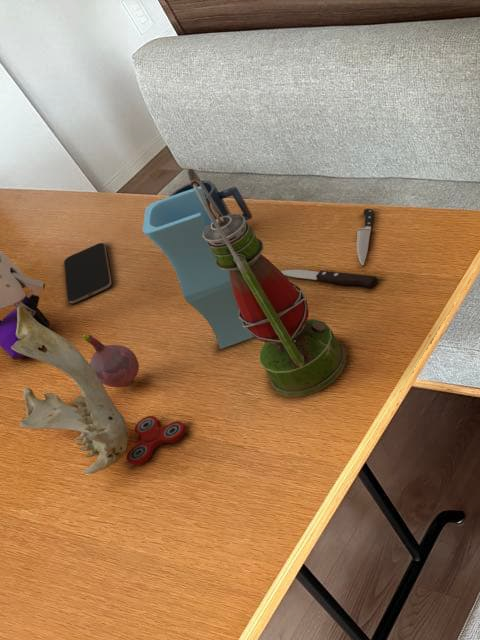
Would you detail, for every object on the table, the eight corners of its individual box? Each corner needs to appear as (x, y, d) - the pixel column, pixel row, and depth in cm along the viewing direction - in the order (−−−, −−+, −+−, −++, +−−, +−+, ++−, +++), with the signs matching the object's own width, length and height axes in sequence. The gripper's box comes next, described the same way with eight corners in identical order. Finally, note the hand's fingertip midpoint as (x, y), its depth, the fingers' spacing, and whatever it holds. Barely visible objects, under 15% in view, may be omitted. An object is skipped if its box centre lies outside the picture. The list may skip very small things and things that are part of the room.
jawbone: (146, 392, 96) (51, 405, 89) (144, 508, 104) (58, 528, 98) (83, 298, 110) (-3, 303, 103) (86, 407, 119) (8, 418, 112)
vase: (272, 330, 115) (201, 215, 101) (220, 349, 115) (141, 236, 100) (270, 298, 120) (202, 185, 106) (220, 316, 120) (145, 204, 106)
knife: (352, 266, 120) (365, 267, 121) (352, 262, 120) (366, 264, 120) (361, 211, 130) (373, 212, 131) (361, 207, 130) (373, 208, 130)
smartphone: (67, 302, 131) (63, 258, 141) (70, 305, 131) (66, 261, 141) (110, 283, 132) (103, 241, 142) (112, 286, 132) (105, 244, 142)
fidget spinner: (122, 463, 101) (128, 469, 102) (176, 449, 101) (182, 455, 101) (135, 417, 106) (141, 423, 107) (187, 403, 106) (192, 409, 107)
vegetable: (128, 366, 116) (85, 316, 109) (159, 371, 114) (118, 319, 107) (101, 397, 113) (55, 347, 106) (132, 403, 110) (88, 351, 103)
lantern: (358, 380, 104) (249, 181, 82) (282, 417, 102) (150, 224, 81) (332, 322, 113) (228, 130, 92) (262, 355, 112) (139, 168, 90)
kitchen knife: (372, 289, 117) (379, 280, 118) (369, 284, 116) (376, 275, 117) (276, 277, 124) (283, 269, 125) (273, 273, 123) (280, 264, 124)
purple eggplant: (29, 288, 129) (20, 334, 118) (49, 311, 133) (42, 359, 122) (0, 300, 129) (-11, 348, 118) (21, 323, 132) (12, 372, 121)
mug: (194, 261, 132) (164, 216, 126) (194, 236, 138) (165, 191, 131) (259, 238, 133) (233, 192, 126) (257, 213, 138) (231, 168, 132)
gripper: (6, 211, 117) (84, 304, 130) (-108, 251, 116) (-18, 341, 129) (-3, 238, 111) (79, 332, 125) (-122, 280, 110) (-27, 371, 124)
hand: (29, 336), depth 126 cm, fingers closed on purple eggplant, 4 cm apart
